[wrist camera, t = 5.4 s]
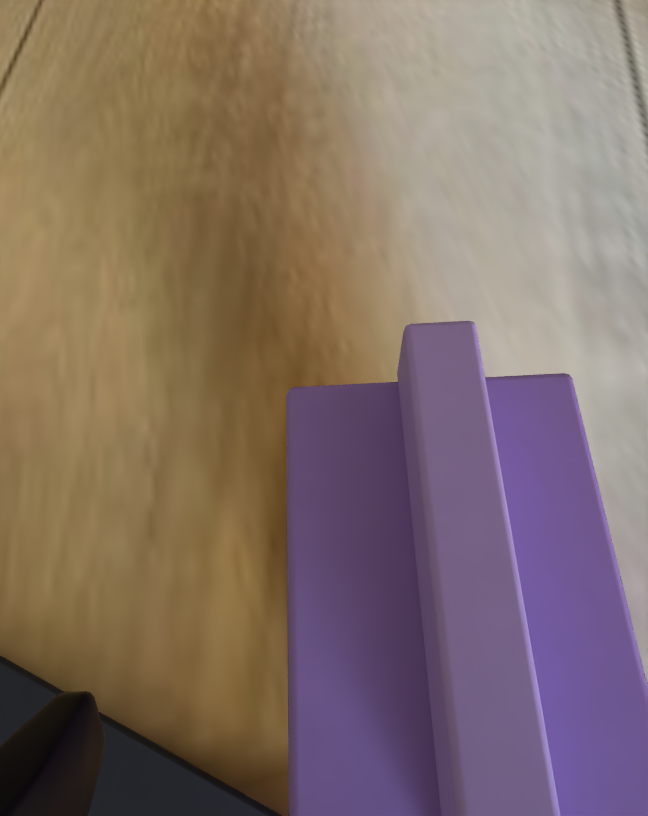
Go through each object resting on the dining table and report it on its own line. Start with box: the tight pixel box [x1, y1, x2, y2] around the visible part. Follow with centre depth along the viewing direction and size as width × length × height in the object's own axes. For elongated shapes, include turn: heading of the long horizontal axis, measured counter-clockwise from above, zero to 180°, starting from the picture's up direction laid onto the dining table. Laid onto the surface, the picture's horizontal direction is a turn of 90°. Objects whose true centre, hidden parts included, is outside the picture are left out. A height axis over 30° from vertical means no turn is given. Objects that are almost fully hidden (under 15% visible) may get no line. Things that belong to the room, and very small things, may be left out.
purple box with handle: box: [286, 321, 648, 816], centre depth 10 cm, size 5×3×12 cm
